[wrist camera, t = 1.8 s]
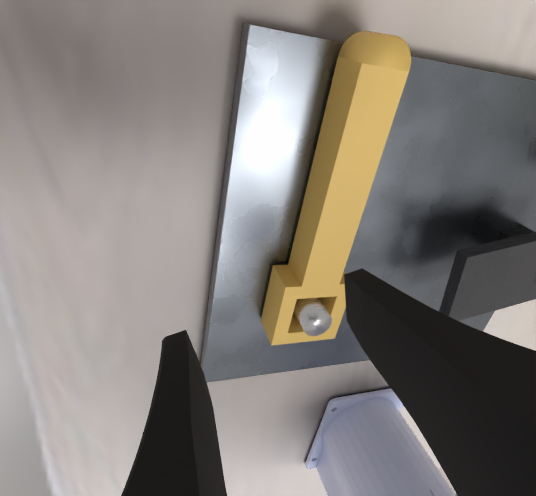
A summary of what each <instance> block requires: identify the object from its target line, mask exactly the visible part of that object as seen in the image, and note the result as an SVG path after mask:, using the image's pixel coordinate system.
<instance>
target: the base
mask: <svg viewBox="0 0 536 496" xmlns="http://www.w3.org/2000/svg"><path fill="white" fill-rule="evenodd" d="M343 44H344V43H343V42H337V41H332V40H327V39H322V38H317V37H312V36H307V35H302V34H297V33H292V32H287V31H281V30H276V29H271V28H266V27H261V26H256V25H251V24H246V23H243V27H242V35H241V43H240V51H239V59H238V67H237V75H236V83H235V91H234V99H233V107H232V115H231V123H230V131H229V139H228V147H227V155H226V163H225V171H224V179H223V187H222V195H221V203H220V211H219V219H218V227H217V235H216V243H215V251H214V259H213V267H212V275H211V283H210V290H209V298H208V306H207V314H206V322H205V330H204V338H203V346H202V354H201V362H200V365H201V368H202V370H203V372H204V375H205V379H206V382H213V381H220V380H227V379H235V378H242V377H249V376H256V375H264V374H271V373H278V372H285V371H293V370H300V369H307V368H314V367H322V366H329V365H336V364H343V363H350V362H358V361H365V360H370V359H369V358H368V356H367V355H366V353H365V352H364V351H363V349H362V347H361V346H360V344H359V342H358V341H357V339H356V337H355V335H354V333H353V332H352V330H351V328H350V326H349V324H348V322H347V318H346V308H345V311H344V314H343V316H342V319H341V322H340V325H339V328H338V331H337V334H336V336H335V339H326V340H317V341H308V342H299V343H290V344H281V345H272V346H271V343H270V341H269V339H268V337H267V334H266V332H265V330H264V328H263V325H262V323H261V318H262V313H263V308H264V304H265V299H266V295H267V290H268V285H269V281H270V276H271V272H272V267H273V265H288V263H289V259H290V255H291V251H292V246H293V242H294V238H295V234H296V230H297V226H298V221H299V217H300V213H301V209H302V205H303V200H304V196H305V192H306V188H307V184H308V180H309V175H310V171H311V167H312V163H313V159H314V155H315V150H316V146H317V142H318V138H319V134H320V130H321V125H322V121H323V117H324V113H325V109H326V105H327V100H328V96H329V92H330V88H331V84H332V80H333V75H334V71H335V67H336V63H337V59H338V55H339V52H340V49H341V47H342V45H343ZM522 226H526V227H527V228H529V229H531V230H532V231H534V232H536V80H531V79H526V78H521V77H516V76H511V75H506V74H500V73H495V72H490V71H485V70H480V69H475V68H470V67H465V66H460V65H455V64H450V63H444V62H439V61H434V60H429V59H424V58H419V57H414V56H411V66H410V70H409V73H408V77H407V80H406V83H405V86H404V89H403V92H402V95H401V98H400V101H399V104H398V107H397V110H396V113H395V116H394V119H393V122H392V125H391V128H390V131H389V135H388V138H387V141H386V144H385V147H384V150H383V153H382V156H381V159H380V162H379V165H378V168H377V171H376V174H375V177H374V180H373V183H372V186H371V190H370V193H369V196H368V199H367V202H366V205H365V208H364V211H363V214H362V217H361V220H360V223H359V226H358V229H357V232H356V235H355V238H354V241H353V244H352V248H351V251H350V254H349V257H348V260H347V263H346V266H345V269H344V272H345V273H346V274H347V273H350V272H353V271H356V270H358V269H361V268H363V269H364V270H366V271H368V272H369V273H371V274H373V275H375V276H376V277H378V278H380V279H381V280H383V281H385V282H386V283H388V284H390V285H392V286H393V287H395V288H397V289H398V290H400V291H402V292H404V293H405V294H407V295H409V296H411V297H413V298H414V299H416V300H418V301H420V302H422V303H424V304H425V305H427V306H429V307H431V308H433V309H435V310H437V311H439V309H440V306H441V303H442V299H443V296H444V292H445V289H446V286H447V282H448V279H449V276H450V272H451V269H452V265H453V262H454V259H455V255H456V252H457V250H459V249H463V248H467V247H472V246H476V245H480V244H484V243H489V242H493V241H497V240H498V237H499V235H500V232H501V231H504V230H508V229H513V228H517V227H522ZM293 312H294V313H295V315H296V317H297V319H298V321H299V322H300V324H301V326H302V328H303V330H304V331H305V333H306V334H307V335H309V336H318V335H321V334H323V333H324V332H326V331H327V330H328V329H329V327H330V326H331V324H332V318H331V316H330V315H329V313H328V312H327V310H326V309H325V307H324V306H323V304H322V303H321V301H320V299H319V298H305V299H297V300H296V304H295V308H294V311H293ZM493 313H494V311H491V312H488V313H484V314H481V315H477V316H474V317H470V318H467V319H463V320H460V321H459V322H462V323H464V324H466V325H468V326H471V327H473V328H475V329H478V330H480V331H483V330H484V328H485V327H486V325H487V323H488V322H489V320H490V318H491V316H492V315H493Z"/></svg>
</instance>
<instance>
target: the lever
mask: <svg viewBox="0 0 536 496" xmlns="http://www.w3.org/2000/svg"><path fill="white" fill-rule="evenodd" d="M410 66H411V53H410V49H409V47H408V45H407V43H406V42H405V41H404V40H403V39H402V38H400V37H398V36H394V35H388V34H382V33H376V32H370V31H360V32H357V33H355V34H353V35H351V36H350V37H349V38H348V39H347V40H346V41H345V42H344V44H343V45H342V47H341V49H340V52H339V55H338V59H337V63H336V67H335V71H334V75H333V80H332V84H331V88H330V92H329V96H328V100H327V105H326V109H325V113H324V117H323V121H322V125H321V130H320V134H319V138H318V142H317V146H316V150H315V155H314V159H313V163H312V167H311V171H310V175H309V180H308V184H307V188H306V192H305V196H304V200H303V205H302V209H301V213H300V217H299V221H298V226H297V230H296V234H295V238H294V242H293V246H292V251H291V255H290V259H289V263H288V265H273V267H272V272H271V276H270V281H269V285H268V290H267V295H266V299H265V304H264V308H263V313H262V318H261V323H262V325H263V328H264V330H265V332H266V334H267V337H268V339H269V341H270V343H271V346H272V345H281V344H290V343H299V342H308V341H317V340H326V339H335V336H336V334H337V331H338V328H339V325H340V322H341V319H342V316H343V314H344V311H345V308H346V300H345V282H344V274H346V273H345V272H344V269H345V266H346V263H347V260H348V257H349V254H350V251H351V248H352V244H353V241H354V238H355V235H356V232H357V229H358V226H359V223H360V220H361V217H362V214H363V211H364V208H365V205H366V202H367V199H368V196H369V193H370V190H371V186H372V183H373V180H374V177H375V174H376V171H377V168H378V165H379V162H380V159H381V156H382V153H383V150H384V147H385V144H386V141H387V138H388V135H389V131H390V128H391V125H392V122H393V119H394V116H395V113H396V110H397V107H398V104H399V101H400V98H401V95H402V92H403V89H404V86H405V83H406V80H407V77H408V73H409V70H410ZM305 298H319V299H320V301H321V303H322V304H323V306H324V307H325V309H326V310H327V312H328V313H329V315H330V316H331V318H332V324H331V326H330V327H329V329H328V330H327V331H326V332H324V333H323V334H321V335H318V336H309V335H307V334H306V333H305V331H304V330H303V328H302V326H301V324H300V322H299V321H298V319H297V317H296V315H295V313H294V312H293V311H294V308H295V304H296V300H297V299H305Z"/></svg>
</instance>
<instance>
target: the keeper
mask: <svg viewBox="0 0 536 496" xmlns="http://www.w3.org/2000/svg"><path fill="white" fill-rule="evenodd" d="M534 299H536V232H534V231H532V230H531V229H529V228H527V227H526V226H522V227H517V228H513V229H508V230H504V231H501V232H500V235H499V237H498V240H497V241H493V242H489V243H484V244H480V245H476V246H472V247H467V248H463V249H459V250H457V252H456V255H455V259H454V262H453V265H452V269H451V272H450V276H449V279H448V282H447V286H446V289H445V292H444V296H443V299H442V303H441V306H440V309H439V312H441V313H443V314H445V315H447V316H449V317H451V318H453V319H455V320H457V321H460V320H463V319H467V318H470V317H474V316H477V315H481V314H484V313H488V312H491V311H495V310H498V309H502V308H506V307H509V306H513V305H516V304H520V303H523V302H527V301H530V300H534Z"/></svg>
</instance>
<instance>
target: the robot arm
mask: <svg viewBox="0 0 536 496" xmlns="http://www.w3.org/2000/svg"><path fill="white" fill-rule="evenodd" d="M344 282H345V300H346V318H347V322H348V324H349V326H350V328H351V330H352V332H353V333H354V335H355V337H356V339H357V341H358V342H359V344H360V346H361V347H362V349H363V351H364V352H365V353H366V355H367V356H368V358H369V359H370V360H371V362H372V363H373V364H374V366H375V367H376V369H377V370H378V371H379V373H380V374H381V375H382V377H383V378H384V379H385V381H386V382H387V383H388V385H389V386H390V389H384V390H378V391H372V392H367V393H361V394H355V395H349V396H344V397H338V398H333V399H331V400H330V401H329V403H328V405H327V408H326V411H325V413H324V416H323V419H322V421H321V424H320V426H319V429H318V432H317V434H316V437H315V440H314V442H313V445H312V447H311V450H310V453H309V455H308V458H307V461H306V463H305V465H306V468H307V469H312V468H317V470H318V473H319V475H320V478H321V480H322V482H323V485H324V487H325V489H326V492H327V494H328V496H536V351H534V350H531V349H528V348H525V347H522V346H519V345H517V344H514V343H511V342H508V341H505V340H503V339H500V338H498V337H495V336H493V335H490V334H488V333H485V332H483V331H480V330H478V329H475V328H473V327H471V326H468V325H466V324H464V323H462V322H459V321H457V320H455V319H453V318H451V317H449V316H447V315H445V314H443V313H441V312H439V311H437V310H435V309H433V308H431V307H429V306H427V305H425V304H424V303H422V302H420V301H418V300H416V299H414V298H413V297H411V296H409V295H407V294H405V293H404V292H402V291H400V290H398V289H397V288H395V287H393V286H392V285H390V284H388V283H386V282H385V281H383V280H381V279H380V278H378V277H376V276H375V275H373V274H371V273H369V272H368V271H366V270H364V269H363V268H361V269H358V270H356V271H353V272H350V273H347V274H344ZM403 405H404V407H405V408H406V409H407V411H408V412H409V414H410V415H411V417H412V418H413V420H414V421H415V423H416V424H417V426H418V428H419V429H420V431H421V433H422V434H423V436H424V438H425V439H426V441H427V443H428V444H429V446H430V448H431V449H432V451H433V453H434V455H435V456H436V458H437V460H438V462H439V463H440V465H441V467H442V468H443V470H444V472H445V474H446V475H447V477H448V479H449V480H450V482H451V484H452V486H453V488H454V490H455V491H456V493H457V494H456V495H455V494H454V492H453V491H452V489H451V488H450V486H449V485H448V483H447V482H446V480H445V479H444V477H443V476H442V474H441V473H440V471H439V470H438V468H437V467H436V465H435V464H434V462H433V461H432V459H431V458H430V456H429V455H428V453H427V452H426V451H425V449H424V448H423V446H422V445H421V443H420V442H419V440H418V439H417V437H416V436H415V434H414V433H413V431H412V430H411V428H410V427H409V425H408V424H407V422H406V421H405V419H404V418H403V416H402V415H401V413H400V412H399V411H400V410H401V408H402V406H403ZM121 496H227V493H226V488H225V482H224V476H223V469H222V463H221V456H220V450H219V443H218V437H217V430H216V424H215V417H214V411H213V406H212V402H211V398H210V394H209V390H208V386H207V383H206V379H205V375H204V372H203V370H202V368H201V365H200V363H199V360H198V358H197V356H196V353H195V351H194V348H193V346H192V343H191V341H190V339H189V336H188V334H187V331H186V330H184V331H181V332H178V333H175V334H173V335H170V336H167V337H165V338H164V339H163V341H162V350H161V358H160V364H159V370H158V376H157V381H156V385H155V390H154V394H153V398H152V403H151V407H150V411H149V415H148V418H147V422H146V425H145V429H144V432H143V435H142V439H141V442H140V445H139V449H138V452H137V455H136V458H135V460H134V463H133V466H132V469H131V472H130V474H129V477H128V480H127V482H126V485H125V488H124V490H123V493H122V495H121Z"/></svg>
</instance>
